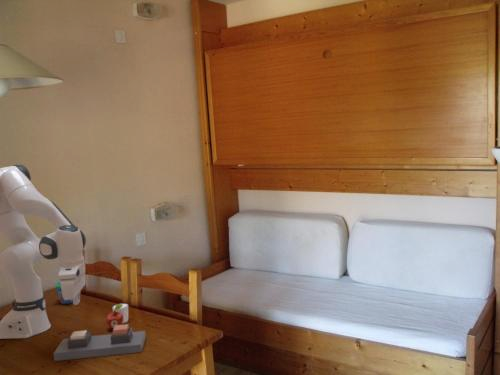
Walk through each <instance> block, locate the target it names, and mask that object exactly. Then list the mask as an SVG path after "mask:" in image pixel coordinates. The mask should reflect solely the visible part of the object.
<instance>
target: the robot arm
mask: <svg viewBox="0 0 500 375" xmlns="http://www.w3.org/2000/svg"><path fill="white" fill-rule="evenodd" d="M29 171H30V170H28V168H27V167H26V166H25V165H23V164H13V165H10V166H4V167H0V235H1V236H2V237H4V238H6V239H8V240H9V241H10V243H11V244H12V245H11V246H9V247H7V248H6V249H5V250H3V251H2V252H1V253H0V269H1V270H2V271H3V272H6V274H8V276H9V277H10V279H11V283H12V285H13V291H14V299H13V301H12V302H11V303H10V308H11V310H10V311H9V312H8V313H6V314H5V315H4V316H3V317H2V319H1V320H0V340H3V339H28V338H31V337H33V336H35V335H39V334H41V333H44V332H46V331H48V330H49V329H51V327H52V324H51V323H50V320H49V318H48V314H47V310H46V309H47V307H46V306H47V305H46V303H47V302H46V299H45V295H44V290H43V283H42V278H41V277H40V276H39V275H37V274H36V272H35V270H34V265H35V264H37V263H38V262H41V261H42V260H43V259H47V260H57V259H59V272H58V275H57V277H58V280H60V281H59V282H60V284H61V291H62V296H63V298H64V300H73V303H72V304H73V305H74V306H77V305H79V303H80V302H81V291H82V290H83V288H84V287H85V285H86V284H87V278H86V261H85V256H84V253H83V251H84V248H85V246H86V242H87V240H86V239H87V238H86V236H85V234H84V232H83V231H82V230H81V229H80V227H78V226H76V225H75V224H73V222H72V221H71V220H70V219H69V218H68V216H66V214H65V213H64V212H63V211H62V210H61V209H60V208H59V207H58V206H57V204H56V203H55V202H54V201H53V200H51V199H48V198H47V197H45V196H44V195H42V193H40V192H39V191H38V189H37V188H36V187H35V186H34V184H33V183H32V181H31V180H32V177H31V173H30V172H29ZM25 216H31V217H32V216H33V217H41V218H44V219H46V220H48V221H50V222H51V224H52V225H53V226H54V227H55V228H56V230H55V231H54V232H51V233H50V234H47V235H44V236H43V237H41V238H39V237H38V236H37V235H36V234H35V233H34V232H33V230H32V229H31V228H30V226H29V224H28V223H27V220H26V219H25V218H26V217H25Z"/></svg>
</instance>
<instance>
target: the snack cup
mask: <svg viewBox="0 0 500 375" xmlns="http://www.w3.org/2000/svg"><path fill="white" fill-rule="evenodd" d="M54 285H55V289H56V291H57V295H58V298H59V302H60V304H62V305H70V304H73V300H64V298H63V296H62V291H61V284H60V281H58V282H56V283H55V284H54Z"/></svg>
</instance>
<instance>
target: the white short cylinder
mask: <svg viewBox="0 0 500 375" xmlns="http://www.w3.org/2000/svg"><path fill="white" fill-rule="evenodd" d="M121 304H122V305H123V306H122V307H121V308H119V309H117V310H116V311H115V312H120V313H121V314H122V315H123V322H122V324H125V323H127V322H128V321H129V304H128V303H121ZM116 305H117V304H115V305H113V306H112V308H111V309H112V313H113V312H114V310H115V306H116Z"/></svg>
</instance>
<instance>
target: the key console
mask: <svg viewBox="0 0 500 375" xmlns="http://www.w3.org/2000/svg"><path fill="white" fill-rule="evenodd" d="M70 337H71V335H70V336H69V338H63V339H62V340H61V341H60V343H59V345H58V346H57V348H56V349H55V350H54V352H53V360H54V362H57V361H58V362H60V361H67V360H69V361H70V360H79V359H88V358H96V357H109V356H118V355H127V354H136V353H137V354H139V353H142V352H143V348H144V345H145V341H146V339H145V338H147V337H146V331H145V330H140V331H133V327H129V332H128V334H127V335H117V336H114V335H113V331H112V333H110V334H109V333H108V334H101V335H100V334H99V335H92V334H91V331H87V336H86V338H85V339H76V340H71V338H70Z"/></svg>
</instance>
